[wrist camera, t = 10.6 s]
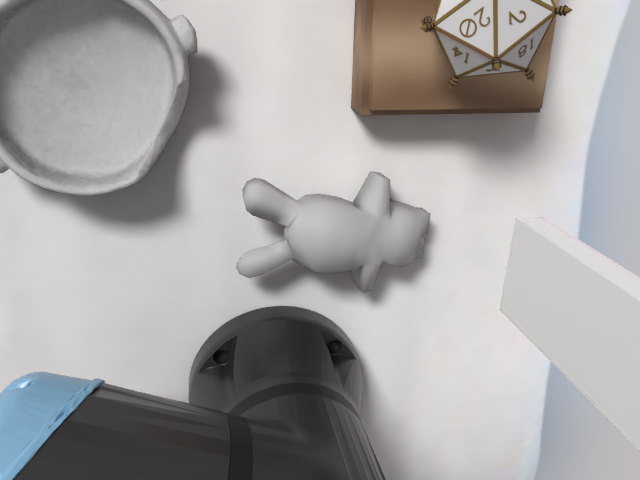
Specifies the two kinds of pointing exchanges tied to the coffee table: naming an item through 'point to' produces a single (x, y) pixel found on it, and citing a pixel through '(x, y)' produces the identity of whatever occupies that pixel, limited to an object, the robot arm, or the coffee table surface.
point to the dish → (89, 90)
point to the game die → (491, 34)
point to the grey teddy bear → (336, 230)
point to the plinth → (429, 68)
